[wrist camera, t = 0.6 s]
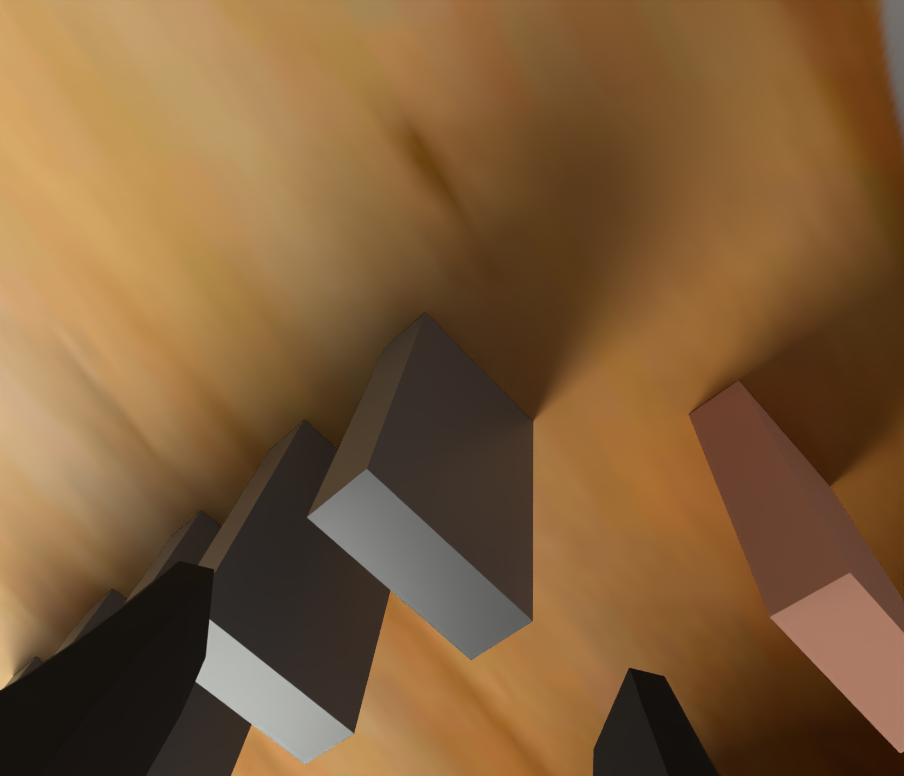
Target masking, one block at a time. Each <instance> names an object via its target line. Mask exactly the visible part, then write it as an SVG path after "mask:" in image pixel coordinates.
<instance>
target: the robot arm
mask: <svg viewBox="0 0 904 776" xmlns="http://www.w3.org/2000/svg"><path fill="white" fill-rule="evenodd" d="M213 577H214V569H212V568H207V567H203V566H199V565H195V564H191V563H186V562H182V561H178V562H176V563H174V564H173V565H171V566H170V567H169V568H168V569H166V570H165V571H164V572H163V573H162V574H160V575H159V576H158V577H157V578H156V579H154V580H153V581H152V582H151V583H150V584H148V585H147V586H146V587H145V588H143V589H142V590H141V591H140V592H138V593H137V594H136V595H135V596H133V597H132V598H131V599H130V600H128V601H127V602H126V603H125V604H123V605H122V606H121V607H119V608H118V609H117V610H116V611H114V612H113V613H112V614H110V615H109V616H108V617H106V618H105V619H104V620H102V621H101V622H100V623H98V624H97V625H96V626H94V627H93V628H92V629H90V630H89V631H88V632H86V633H85V634H83V635H82V636H81V637H79V638H78V639H77V640H75V641H74V642H73V643H71V644H70V645H68V646H67V647H65V648H64V649H62V650H61V651H60V652H58V653H57V654H55V655H54V656H52V657H51V658H49V659H48V660H46V661H45V662H43V663H42V664H40V665H39V666H37V667H36V668H34V669H33V670H31V671H30V672H28V673H27V674H25V675H24V676H22V677H21V678H19V679H18V680H16V681H15V682H13V683H11V684H10V685H8V686H7V687H5V688H3V689H2V690H0V776H146V775H147V773H148V771H149V769H150V768H151V766H152V764H153V762H154V761H155V759H156V757H157V755H158V754H159V752H160V750H161V748H162V747H163V745H164V743H165V741H166V740H167V738H168V736H169V734H170V733H171V731H172V729H173V727H174V726H175V724H176V722H177V720H178V719H179V717H180V715H181V713H182V711H183V709H184V706H185V704H186V702H187V700H188V697H189V695H190V693H191V691H192V688H193V686H194V684H195V681H196V679H197V677H198V674H199V672H200V670H201V667H202V665H203V663H204V660H205V658H206V651H207V640H208V630H209V619H210V609H211V598H212V588H213ZM593 776H719V774H718V772H717V771H716V769H715V767H714V766H713V764H712V762H711V760H710V759H709V757H708V755H707V753H706V751H705V750H704V748H703V746H702V744H701V742H700V741H699V739H698V737H697V735H696V733H695V731H694V730H693V728H692V726H691V724H690V722H689V720H688V719H687V717H686V715H685V713H684V711H683V709H682V707H681V706H680V704H679V702H678V700H677V698H676V696H675V694H674V693H673V691H672V689H671V687H670V685H669V683H668V682H667V680H666V678H665V677H664V676H661V675H657V674H653V673H649V672H645V671H640V670H636V669H632V668H629V669H628V672H627V674H626V676H625V678H624V681H623V683H622V685H621V688H620V690H619V692H618V695H617V697H616V699H615V701H614V704H613V706H612V708H611V711H610V713H609V715H608V717H607V720H606V722H605V724H604V727H603V729H602V731H601V734H600V736H599V738H598V740H597V743H596V745H595V747H594V759H593Z"/></svg>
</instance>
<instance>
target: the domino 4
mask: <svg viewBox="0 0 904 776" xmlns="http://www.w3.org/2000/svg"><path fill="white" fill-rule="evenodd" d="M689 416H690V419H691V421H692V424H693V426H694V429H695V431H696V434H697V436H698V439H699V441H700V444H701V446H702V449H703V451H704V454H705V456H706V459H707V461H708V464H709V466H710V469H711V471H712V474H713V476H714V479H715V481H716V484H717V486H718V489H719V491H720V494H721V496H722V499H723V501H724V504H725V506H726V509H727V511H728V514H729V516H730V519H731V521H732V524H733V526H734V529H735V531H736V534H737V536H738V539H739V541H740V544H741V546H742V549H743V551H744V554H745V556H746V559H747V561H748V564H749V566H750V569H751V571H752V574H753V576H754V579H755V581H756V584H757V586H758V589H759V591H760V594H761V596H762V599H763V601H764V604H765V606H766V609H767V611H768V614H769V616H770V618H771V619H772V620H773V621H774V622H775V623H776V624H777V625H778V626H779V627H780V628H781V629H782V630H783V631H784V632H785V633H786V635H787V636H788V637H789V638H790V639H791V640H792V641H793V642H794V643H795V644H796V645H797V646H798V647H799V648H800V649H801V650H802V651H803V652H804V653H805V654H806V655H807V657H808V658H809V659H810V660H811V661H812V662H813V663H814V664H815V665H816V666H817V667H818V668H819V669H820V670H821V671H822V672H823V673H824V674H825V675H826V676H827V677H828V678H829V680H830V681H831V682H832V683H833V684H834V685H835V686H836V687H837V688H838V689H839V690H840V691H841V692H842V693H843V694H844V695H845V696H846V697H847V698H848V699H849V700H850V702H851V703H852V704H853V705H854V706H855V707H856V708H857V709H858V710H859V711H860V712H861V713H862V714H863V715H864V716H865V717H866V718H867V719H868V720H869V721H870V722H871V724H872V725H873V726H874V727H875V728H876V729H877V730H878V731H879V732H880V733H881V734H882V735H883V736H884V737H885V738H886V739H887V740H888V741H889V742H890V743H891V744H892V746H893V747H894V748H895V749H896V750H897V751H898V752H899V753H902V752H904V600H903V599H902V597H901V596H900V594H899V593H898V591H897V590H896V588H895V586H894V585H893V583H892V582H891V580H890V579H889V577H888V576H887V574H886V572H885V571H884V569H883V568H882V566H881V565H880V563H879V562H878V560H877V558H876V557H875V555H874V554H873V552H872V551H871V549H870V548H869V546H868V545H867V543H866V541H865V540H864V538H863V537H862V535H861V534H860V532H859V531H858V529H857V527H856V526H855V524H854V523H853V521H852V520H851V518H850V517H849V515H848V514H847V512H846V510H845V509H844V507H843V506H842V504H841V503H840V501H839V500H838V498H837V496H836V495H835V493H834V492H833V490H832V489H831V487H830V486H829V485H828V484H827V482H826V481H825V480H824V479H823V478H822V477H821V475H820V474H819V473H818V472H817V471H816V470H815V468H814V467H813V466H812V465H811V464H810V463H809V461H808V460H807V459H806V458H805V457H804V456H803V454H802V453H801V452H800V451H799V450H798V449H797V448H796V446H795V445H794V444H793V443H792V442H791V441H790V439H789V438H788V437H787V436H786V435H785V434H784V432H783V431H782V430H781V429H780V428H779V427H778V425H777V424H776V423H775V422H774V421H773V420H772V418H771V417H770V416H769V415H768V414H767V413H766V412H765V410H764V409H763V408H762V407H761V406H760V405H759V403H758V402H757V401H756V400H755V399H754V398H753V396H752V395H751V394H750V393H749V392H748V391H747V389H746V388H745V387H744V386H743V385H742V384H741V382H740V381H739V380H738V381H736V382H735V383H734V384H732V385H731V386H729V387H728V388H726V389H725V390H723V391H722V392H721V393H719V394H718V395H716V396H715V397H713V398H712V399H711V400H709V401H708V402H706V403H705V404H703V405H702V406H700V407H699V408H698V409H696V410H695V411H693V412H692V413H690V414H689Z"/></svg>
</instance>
